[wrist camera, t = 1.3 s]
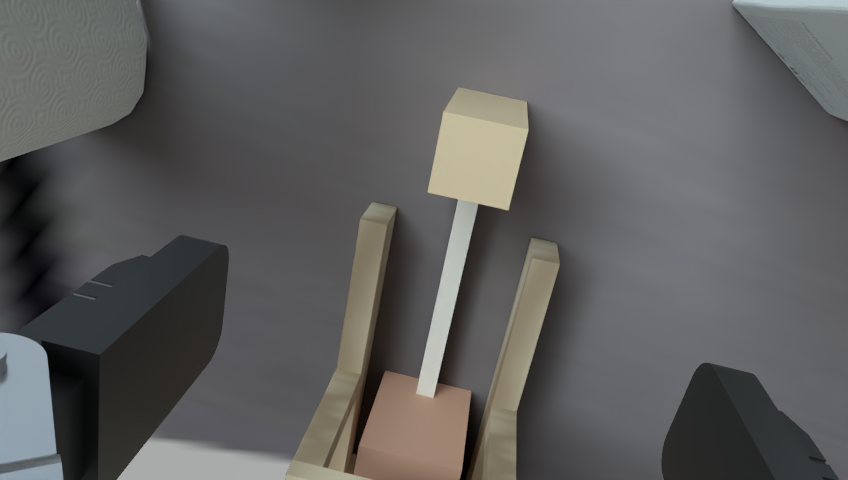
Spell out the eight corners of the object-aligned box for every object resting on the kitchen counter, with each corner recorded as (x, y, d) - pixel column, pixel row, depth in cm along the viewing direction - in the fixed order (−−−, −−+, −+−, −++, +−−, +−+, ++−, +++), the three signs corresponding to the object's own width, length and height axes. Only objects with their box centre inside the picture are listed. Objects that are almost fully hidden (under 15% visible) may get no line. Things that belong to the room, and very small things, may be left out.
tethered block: (545, 105, 28) (551, 134, 22) (452, 465, 35) (439, 554, 30) (440, 83, 28) (421, 106, 22) (370, 445, 35) (343, 529, 30)
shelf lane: (556, 243, 30) (573, 353, 21) (481, 502, 36) (469, 676, 27) (372, 201, 30) (309, 292, 21) (329, 464, 36) (266, 622, 27)
